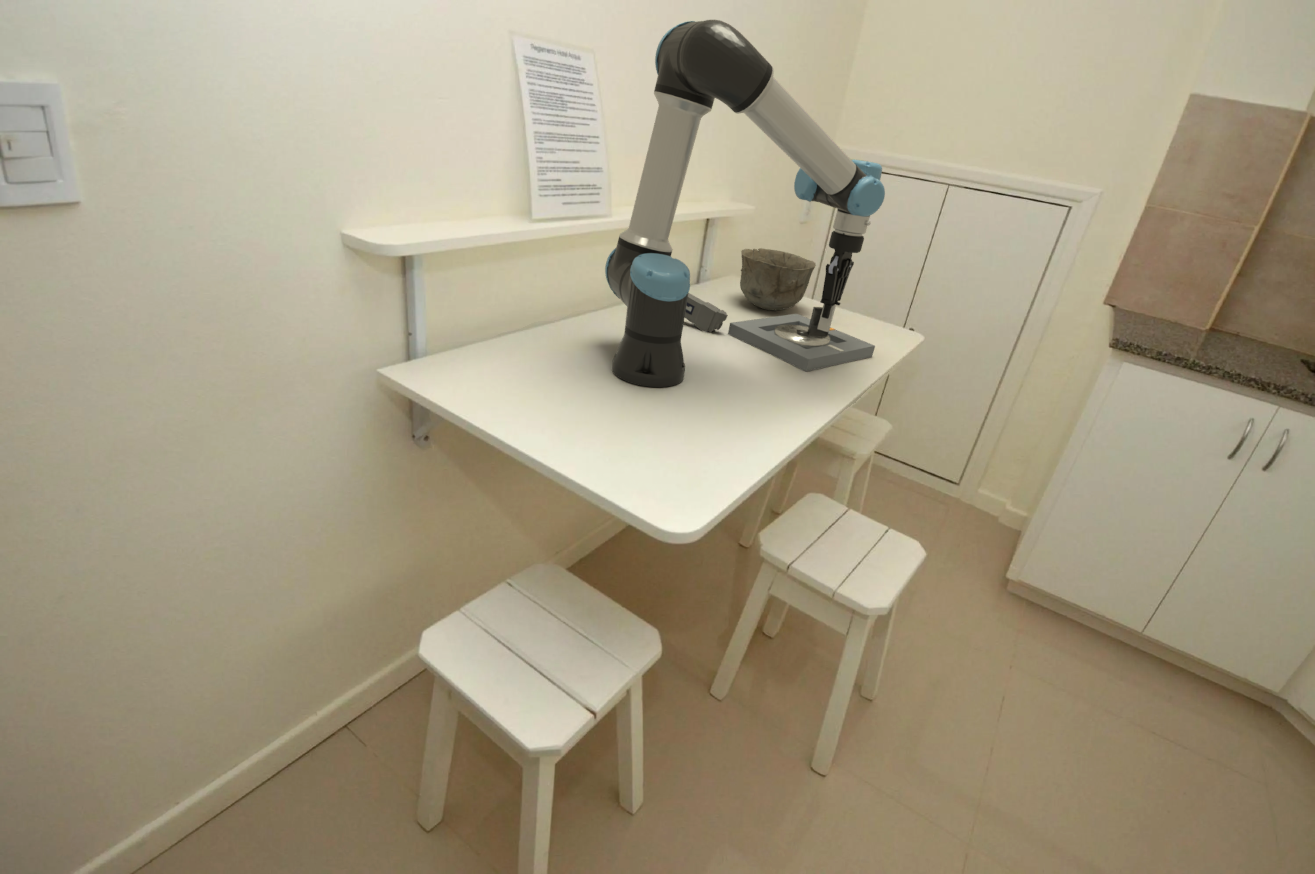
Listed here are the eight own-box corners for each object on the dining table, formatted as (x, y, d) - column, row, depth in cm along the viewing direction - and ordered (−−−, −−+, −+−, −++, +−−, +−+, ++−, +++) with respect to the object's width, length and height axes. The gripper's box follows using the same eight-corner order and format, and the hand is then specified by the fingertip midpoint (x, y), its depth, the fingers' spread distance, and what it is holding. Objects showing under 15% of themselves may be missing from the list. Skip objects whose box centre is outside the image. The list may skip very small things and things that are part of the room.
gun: (696, 362, 171) (725, 316, 163) (626, 306, 176) (650, 258, 167) (702, 359, 174) (730, 314, 165) (632, 303, 178) (656, 257, 170)
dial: (837, 350, 161) (846, 318, 157) (783, 347, 158) (791, 313, 155) (816, 331, 173) (824, 300, 169) (766, 327, 171) (773, 296, 167)
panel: (805, 371, 150) (809, 358, 149) (727, 334, 167) (730, 322, 166) (871, 356, 166) (875, 345, 164) (794, 324, 183) (797, 312, 182)
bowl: (762, 293, 208) (772, 245, 201) (819, 314, 195) (831, 264, 188) (716, 300, 194) (724, 249, 187) (773, 323, 181) (785, 269, 174)
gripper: (855, 237, 146) (828, 339, 156) (872, 234, 155) (846, 329, 166) (823, 230, 149) (799, 330, 159) (842, 227, 159) (818, 321, 169)
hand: (823, 330), depth 163 cm, fingers closed
